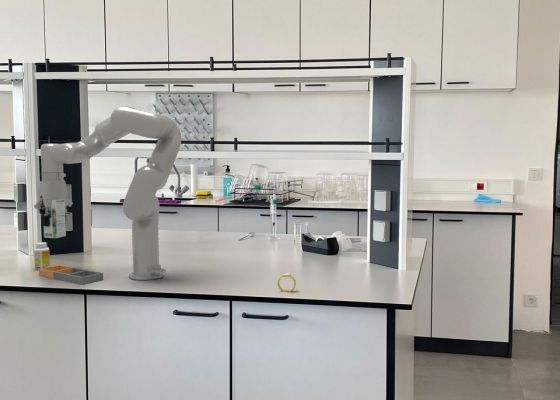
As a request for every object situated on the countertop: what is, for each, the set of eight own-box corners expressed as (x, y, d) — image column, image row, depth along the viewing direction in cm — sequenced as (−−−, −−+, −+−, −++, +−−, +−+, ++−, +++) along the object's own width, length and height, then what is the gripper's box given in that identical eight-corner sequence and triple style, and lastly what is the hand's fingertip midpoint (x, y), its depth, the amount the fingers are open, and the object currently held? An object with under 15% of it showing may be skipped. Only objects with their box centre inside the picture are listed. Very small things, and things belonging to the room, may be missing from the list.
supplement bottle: (51, 267, 246) (50, 241, 245) (48, 270, 241) (46, 244, 240) (37, 267, 246) (36, 242, 245) (33, 270, 240) (31, 244, 239)
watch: (277, 292, 206) (276, 275, 206) (279, 290, 209) (277, 273, 208) (295, 292, 205) (294, 274, 204) (296, 290, 208) (295, 272, 207)
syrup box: (43, 237, 230) (41, 198, 228) (55, 235, 235) (53, 197, 234) (54, 238, 228) (53, 199, 226) (66, 236, 233) (65, 197, 231)
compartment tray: (103, 279, 224) (102, 273, 224) (82, 284, 217) (81, 277, 217) (60, 270, 239) (59, 264, 239) (39, 275, 232) (38, 268, 232)
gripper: (66, 175, 238) (68, 221, 240) (25, 178, 224) (27, 227, 226) (78, 176, 234) (80, 223, 236) (37, 178, 220) (39, 228, 222)
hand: (54, 224), depth 231 cm, fingers closed on syrup box, 6 cm apart
